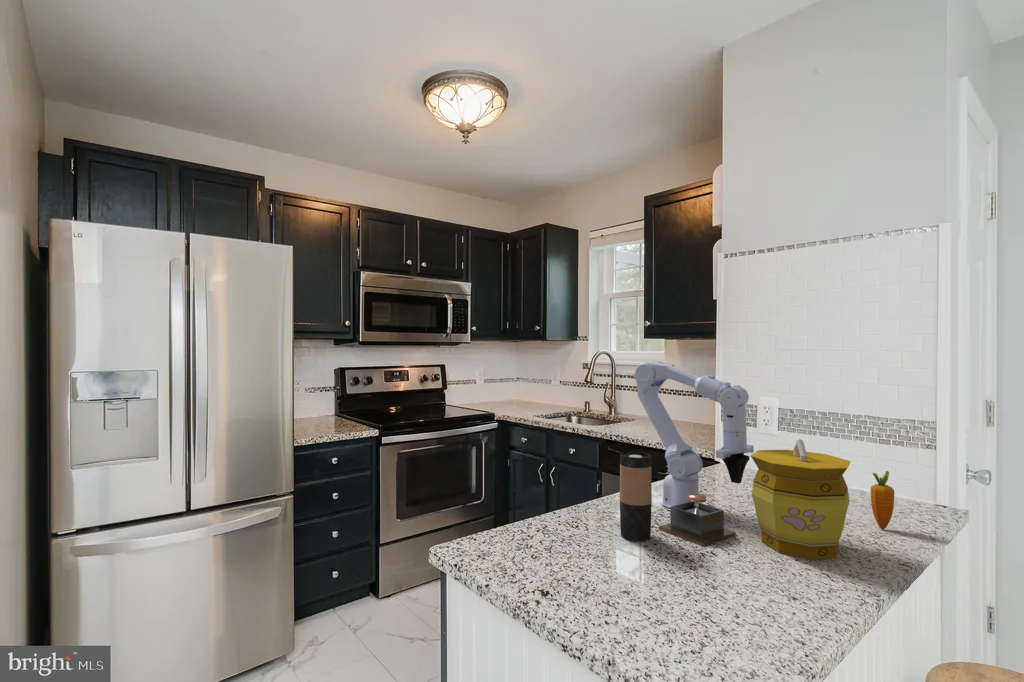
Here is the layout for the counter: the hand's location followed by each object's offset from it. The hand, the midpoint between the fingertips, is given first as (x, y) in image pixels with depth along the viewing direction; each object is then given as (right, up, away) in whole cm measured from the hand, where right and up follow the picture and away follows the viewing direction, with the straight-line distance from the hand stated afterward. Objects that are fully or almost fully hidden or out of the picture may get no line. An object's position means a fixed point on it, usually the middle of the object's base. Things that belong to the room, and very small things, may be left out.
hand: (736, 482), depth 133 cm
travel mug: (-30, -10, -11) cm, 33 cm away
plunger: (-14, -6, -8) cm, 17 cm away
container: (+7, -10, -17) cm, 21 cm away
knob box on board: (-14, -10, -8) cm, 19 cm away
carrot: (+35, -11, -6) cm, 37 cm away
